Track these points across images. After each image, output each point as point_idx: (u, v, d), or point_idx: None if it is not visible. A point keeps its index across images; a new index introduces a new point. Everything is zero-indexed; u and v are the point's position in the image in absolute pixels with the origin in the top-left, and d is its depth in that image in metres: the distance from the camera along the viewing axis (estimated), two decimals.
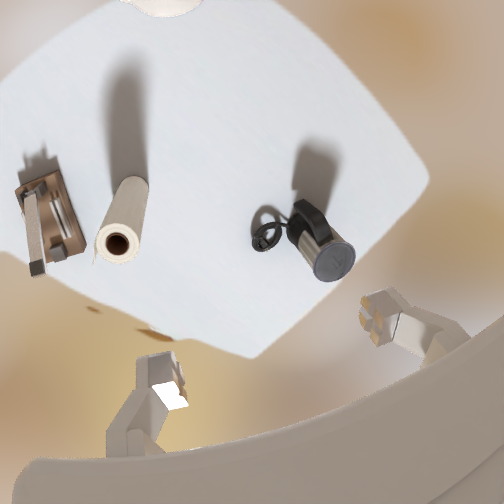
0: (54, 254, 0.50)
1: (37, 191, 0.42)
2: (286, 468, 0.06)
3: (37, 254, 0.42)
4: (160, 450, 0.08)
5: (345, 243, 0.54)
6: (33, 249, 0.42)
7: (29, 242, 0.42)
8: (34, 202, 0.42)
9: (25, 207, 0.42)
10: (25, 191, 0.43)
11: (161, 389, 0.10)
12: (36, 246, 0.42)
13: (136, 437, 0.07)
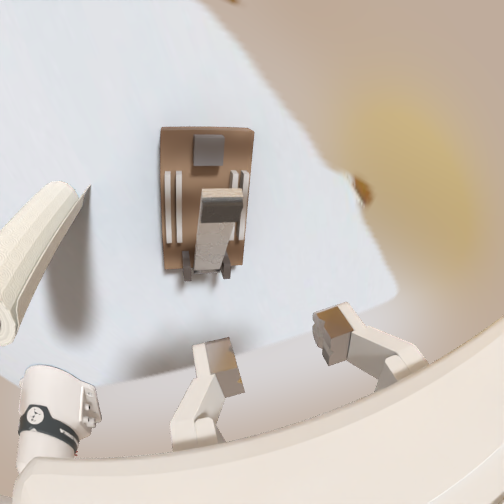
0: (215, 153, 0.29)
1: (187, 274, 0.34)
2: (286, 468, 0.06)
3: (213, 223, 0.25)
4: (223, 439, 0.09)
5: None
6: (219, 228, 0.26)
7: (224, 236, 0.28)
8: (198, 265, 0.33)
9: (219, 263, 0.34)
10: None
11: (223, 376, 0.10)
12: (210, 230, 0.26)
13: (206, 426, 0.08)
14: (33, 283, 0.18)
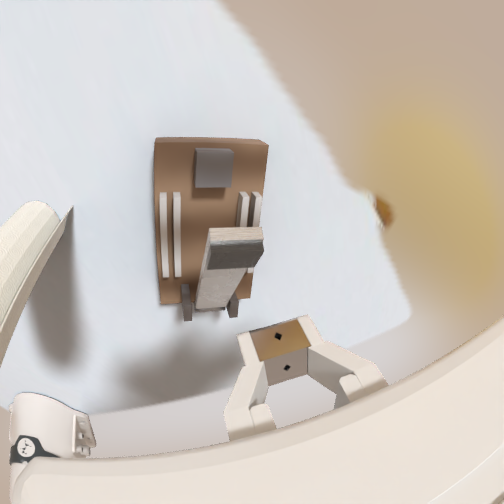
0: (222, 172, 0.24)
1: (188, 314, 0.29)
2: (286, 468, 0.06)
3: None
4: None
5: None
6: (229, 271, 0.21)
7: (235, 278, 0.23)
8: (201, 304, 0.28)
9: (225, 302, 0.28)
10: None
11: (271, 363, 0.10)
12: (218, 274, 0.21)
13: (262, 412, 0.08)
14: (2, 344, 0.13)
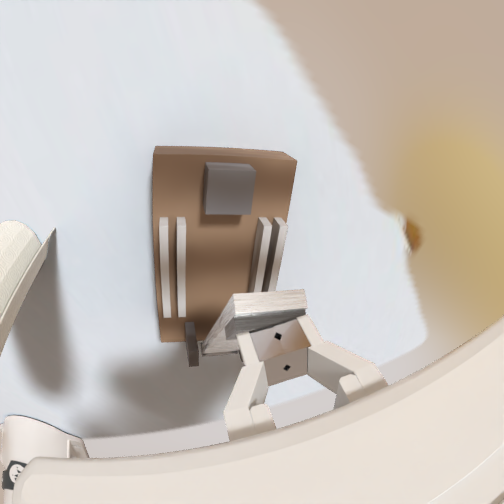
0: (240, 196, 0.19)
1: (193, 359, 0.24)
2: (286, 468, 0.06)
3: None
4: None
5: None
6: None
7: None
8: (209, 351, 0.23)
9: (238, 348, 0.23)
10: None
11: (270, 363, 0.10)
12: None
13: (262, 412, 0.08)
14: None
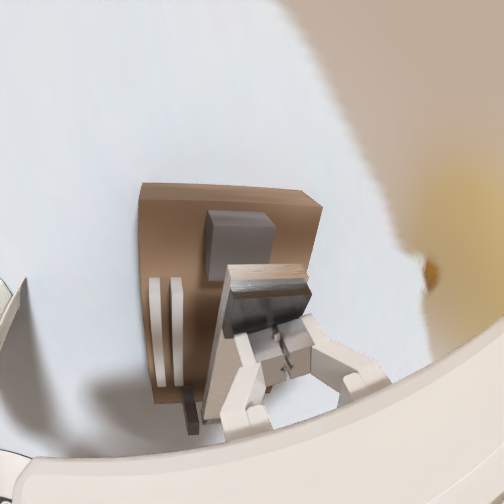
0: (253, 258, 0.15)
1: (193, 429, 0.19)
2: (286, 468, 0.06)
3: None
4: None
5: None
6: None
7: None
8: (211, 412, 0.18)
9: None
10: None
11: (268, 364, 0.10)
12: (237, 355, 0.14)
13: (259, 413, 0.08)
14: None
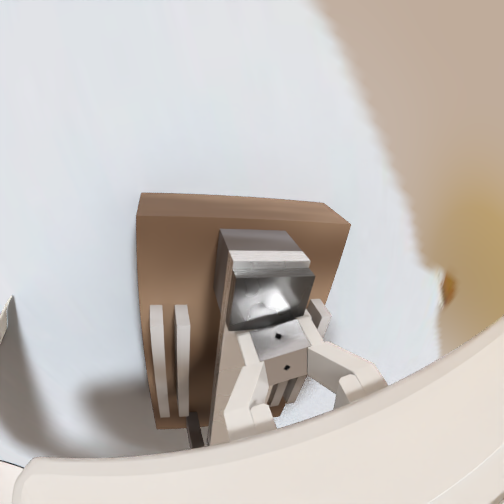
0: None
1: None
2: (286, 468, 0.06)
3: None
4: None
5: None
6: None
7: None
8: (217, 438, 0.16)
9: None
10: None
11: (271, 363, 0.10)
12: None
13: (262, 412, 0.08)
14: None
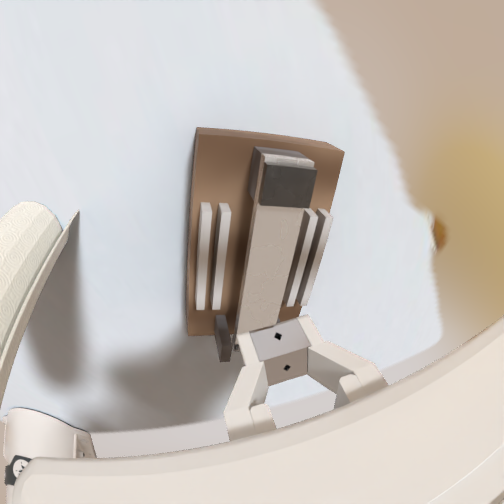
0: None
1: (225, 354, 0.23)
2: (286, 468, 0.06)
3: (274, 219, 0.18)
4: None
5: None
6: (280, 233, 0.19)
7: (286, 255, 0.20)
8: (243, 330, 0.23)
9: None
10: None
11: (271, 363, 0.10)
12: (268, 239, 0.19)
13: (262, 412, 0.08)
14: None
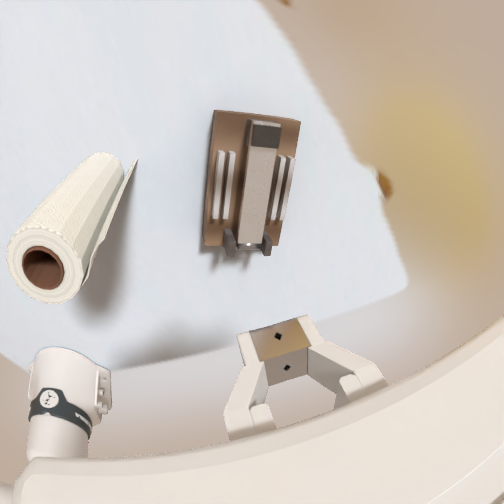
0: None
1: (231, 249, 0.36)
2: (286, 468, 0.06)
3: (259, 155, 0.32)
4: None
5: None
6: (263, 164, 0.32)
7: (267, 178, 0.33)
8: (242, 231, 0.36)
9: (261, 230, 0.36)
10: None
11: (271, 363, 0.10)
12: (257, 167, 0.32)
13: (262, 412, 0.08)
14: None
